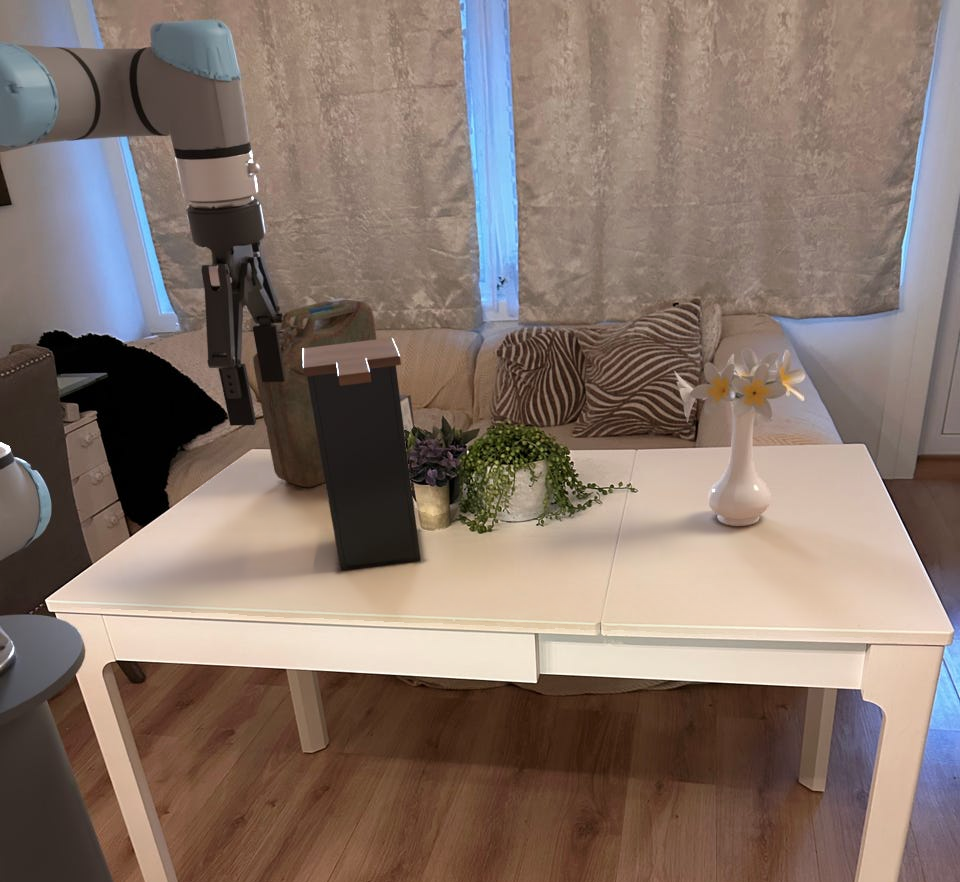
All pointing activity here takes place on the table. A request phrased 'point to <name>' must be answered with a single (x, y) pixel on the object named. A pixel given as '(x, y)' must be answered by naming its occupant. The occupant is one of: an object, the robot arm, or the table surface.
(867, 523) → the table surface
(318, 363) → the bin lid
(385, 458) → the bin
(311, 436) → the container
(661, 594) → the table surface
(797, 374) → the flower vase
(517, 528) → the table surface
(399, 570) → the table surface
